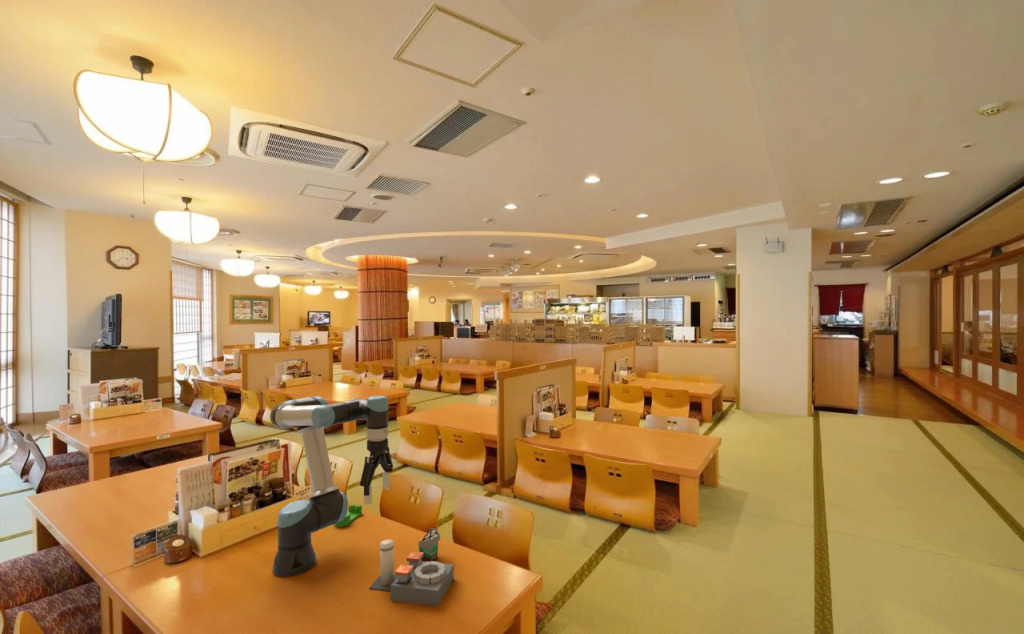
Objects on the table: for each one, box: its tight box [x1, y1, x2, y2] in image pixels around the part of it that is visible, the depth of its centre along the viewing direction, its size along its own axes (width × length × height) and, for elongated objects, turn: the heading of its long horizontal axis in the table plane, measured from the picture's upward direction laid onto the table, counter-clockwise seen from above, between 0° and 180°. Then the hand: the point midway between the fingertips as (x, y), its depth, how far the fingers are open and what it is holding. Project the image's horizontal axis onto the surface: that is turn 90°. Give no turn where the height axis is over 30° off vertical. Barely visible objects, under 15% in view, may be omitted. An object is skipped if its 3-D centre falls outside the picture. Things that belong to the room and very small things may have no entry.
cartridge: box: [379, 538, 395, 585], centre depth 158 cm, size 5×5×14 cm
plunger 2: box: [406, 550, 424, 570], centre depth 159 cm, size 5×5×7 cm
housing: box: [390, 561, 455, 607], centre depth 153 cm, size 17×16×7 cm
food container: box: [417, 527, 441, 562], centre depth 172 cm, size 12×6×10 cm, turn 168°
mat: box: [368, 574, 398, 592], centre depth 157 cm, size 9×9×1 cm
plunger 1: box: [394, 563, 413, 585], centre depth 150 cm, size 5×5×7 cm
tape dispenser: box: [333, 504, 363, 528], centre depth 209 cm, size 15×7×5 cm, turn 167°
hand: (377, 496), depth 161 cm, fingers open, 13 cm apart
